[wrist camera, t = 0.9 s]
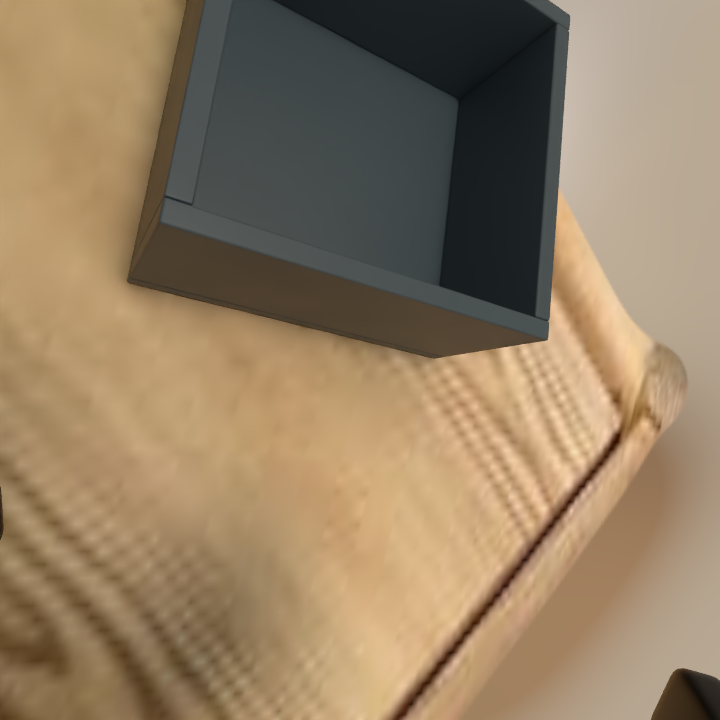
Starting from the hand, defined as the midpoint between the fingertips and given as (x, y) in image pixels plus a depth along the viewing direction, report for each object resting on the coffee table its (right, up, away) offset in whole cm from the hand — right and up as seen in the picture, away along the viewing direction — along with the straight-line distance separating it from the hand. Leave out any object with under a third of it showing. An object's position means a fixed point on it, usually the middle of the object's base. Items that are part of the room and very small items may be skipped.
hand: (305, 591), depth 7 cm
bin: (-1, +10, +12) cm, 16 cm away
